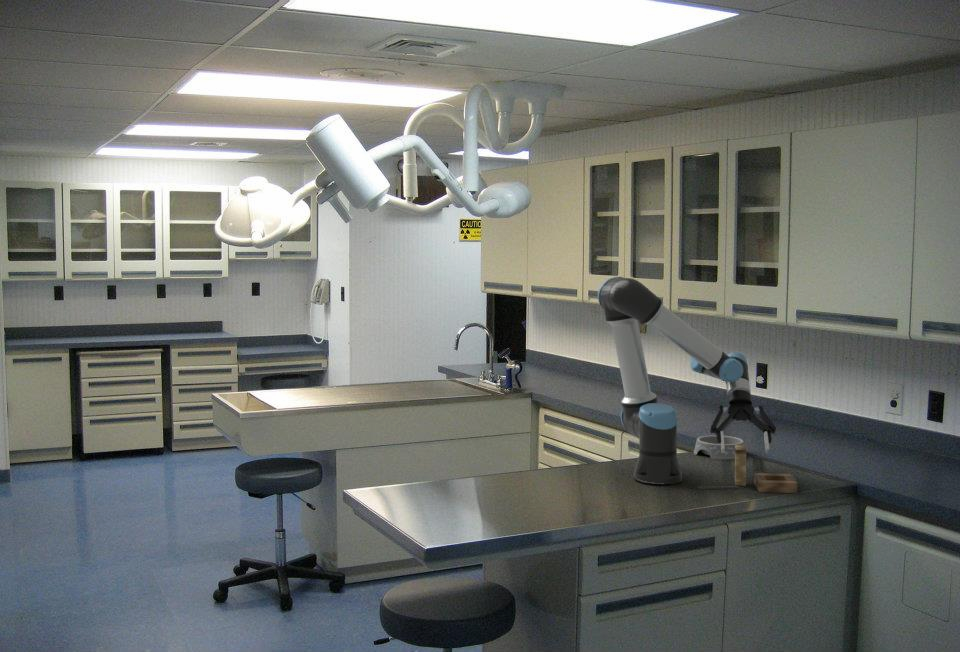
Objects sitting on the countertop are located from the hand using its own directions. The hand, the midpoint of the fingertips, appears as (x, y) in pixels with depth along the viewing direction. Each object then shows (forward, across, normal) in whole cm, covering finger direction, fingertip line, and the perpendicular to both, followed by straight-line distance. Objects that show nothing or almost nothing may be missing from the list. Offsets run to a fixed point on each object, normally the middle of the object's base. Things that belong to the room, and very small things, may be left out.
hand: (745, 451), depth 287 cm
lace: (+14, +9, +1) cm, 17 cm away
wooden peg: (+10, +2, -3) cm, 11 cm away
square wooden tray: (+12, -8, 0) cm, 15 cm away
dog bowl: (-18, +4, -33) cm, 38 cm away
